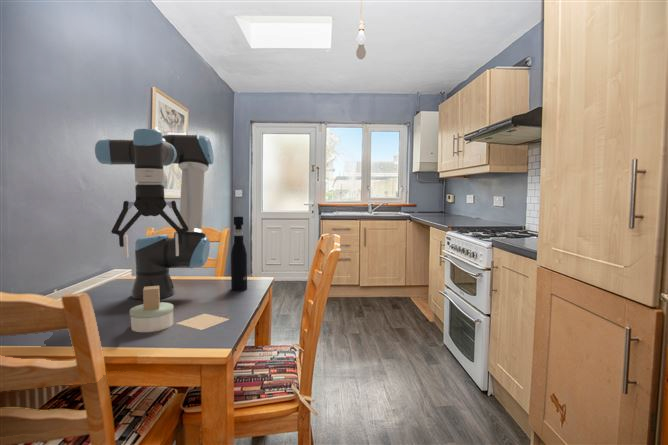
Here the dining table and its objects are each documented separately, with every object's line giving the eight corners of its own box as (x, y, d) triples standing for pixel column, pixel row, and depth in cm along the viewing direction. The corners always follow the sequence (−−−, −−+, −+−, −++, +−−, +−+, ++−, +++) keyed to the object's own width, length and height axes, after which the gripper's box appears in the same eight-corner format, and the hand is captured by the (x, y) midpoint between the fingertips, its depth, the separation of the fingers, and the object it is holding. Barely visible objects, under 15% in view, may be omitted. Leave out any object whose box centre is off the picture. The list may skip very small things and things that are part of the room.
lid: (127, 320, 107) (126, 294, 106) (132, 308, 117) (131, 284, 117) (172, 315, 111) (172, 290, 110) (174, 304, 121) (173, 281, 121)
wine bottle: (232, 287, 164) (231, 216, 162) (248, 287, 165) (247, 216, 163) (230, 291, 158) (228, 217, 156) (246, 290, 159) (245, 217, 156)
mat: (175, 326, 116) (175, 323, 116) (204, 316, 126) (204, 313, 126) (201, 333, 111) (201, 330, 111) (229, 322, 120) (229, 319, 120)
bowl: (123, 330, 112) (122, 313, 112) (157, 320, 122) (156, 304, 121) (147, 338, 107) (147, 320, 107) (180, 326, 116) (180, 309, 116)
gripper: (97, 183, 105) (101, 261, 107) (195, 184, 113) (197, 256, 115) (103, 183, 111) (106, 256, 114) (195, 184, 120) (197, 252, 122)
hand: (152, 256), depth 114 cm, fingers open, 13 cm apart
